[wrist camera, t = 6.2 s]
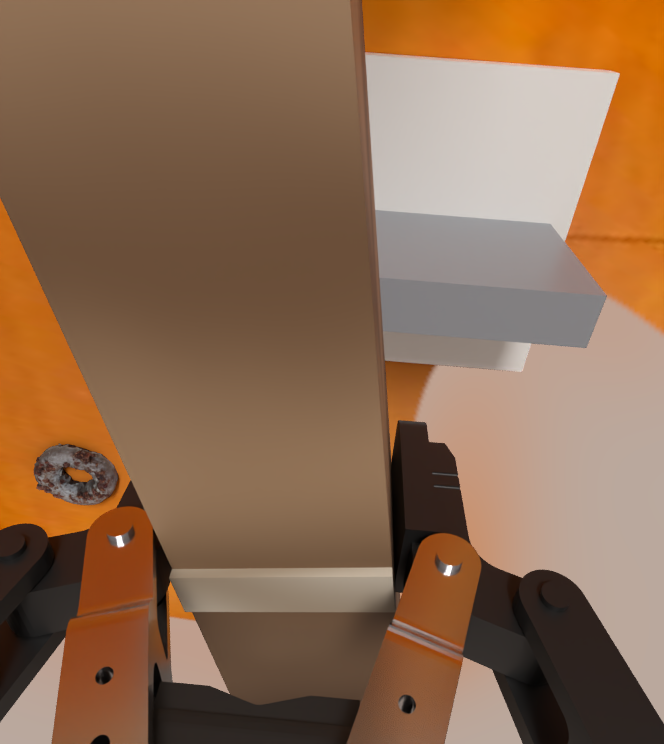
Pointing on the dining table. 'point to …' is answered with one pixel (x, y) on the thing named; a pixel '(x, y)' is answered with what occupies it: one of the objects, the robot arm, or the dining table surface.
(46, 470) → the donut
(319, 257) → the walnut beam
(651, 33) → the dining table surface
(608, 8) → the dining table surface
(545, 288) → the stand
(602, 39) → the dining table surface
